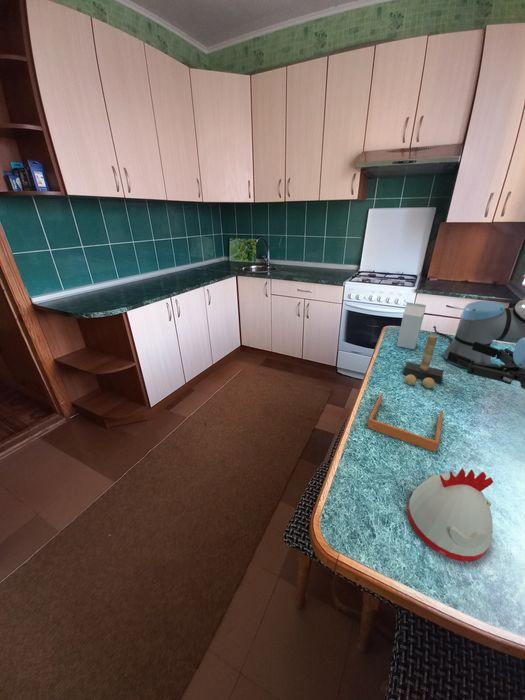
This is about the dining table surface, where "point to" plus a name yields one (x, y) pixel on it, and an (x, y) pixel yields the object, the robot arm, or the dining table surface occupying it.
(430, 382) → the crumb
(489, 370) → the robot arm
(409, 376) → the crumb
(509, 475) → the dining table surface
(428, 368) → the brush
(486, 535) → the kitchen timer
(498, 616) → the dining table surface
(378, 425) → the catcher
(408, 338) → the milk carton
